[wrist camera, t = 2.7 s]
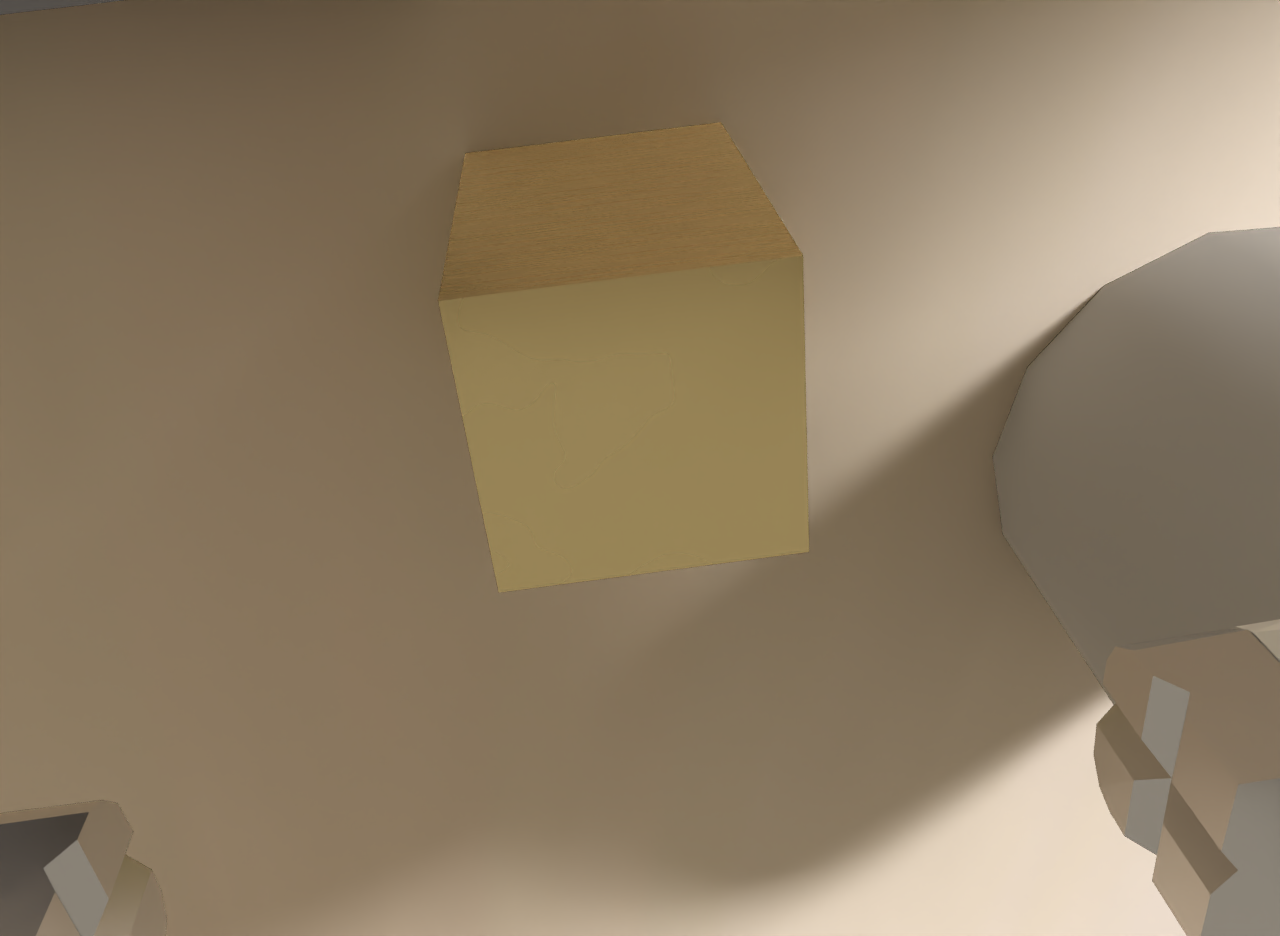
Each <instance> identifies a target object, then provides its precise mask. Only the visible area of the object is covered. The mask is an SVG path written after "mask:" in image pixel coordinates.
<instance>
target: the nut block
mask: <svg viewBox="0 0 1280 936" xmlns="http://www.w3.org/2000/svg"><path fill="white" fill-rule="evenodd" d="M438 303H439V308H440V313H441V318H442V323H443V327H444V332H445V337H446V342H447V347H448V351H449V356H450V361H451V366H452V371H453V376H454V380H455V385H456V390H457V395H458V400H459V404H460V409H461V414H462V419H463V424H464V429H465V433H466V438H467V443H468V448H469V453H470V457H471V462H472V467H473V472H474V477H475V482H476V486H477V491H478V496H479V501H480V506H481V510H482V515H483V520H484V525H485V530H486V535H487V539H488V544H489V549H490V554H491V559H492V563H493V568H494V573H495V578H496V583H497V588H498V592H499V593H500V592H508V591H515V590H523V589H531V588H538V587H546V586H554V585H561V584H569V583H576V582H584V581H592V580H599V579H607V578H614V577H622V576H630V575H637V574H645V573H653V572H660V571H668V570H675V569H683V568H691V567H698V566H706V565H713V564H721V563H729V562H736V561H744V560H752V559H759V558H767V557H774V556H782V555H790V554H797V553H805V552H809V522H808V474H807V427H806V379H805V331H804V284H803V255H802V253H801V251H800V250H799V248H798V247H797V245H796V243H795V242H794V240H793V238H792V237H791V235H790V234H789V232H788V230H787V229H786V227H785V225H784V224H783V222H782V221H781V219H780V217H779V216H778V214H777V212H776V211H775V209H774V208H773V206H772V204H771V203H770V201H769V199H768V198H767V196H766V195H765V193H764V191H763V190H762V188H761V186H760V185H759V183H758V182H757V180H756V178H755V177H754V175H753V173H752V172H751V170H750V169H749V167H748V165H747V164H746V162H745V160H744V159H743V157H742V156H741V154H740V152H739V151H738V149H737V147H736V146H735V144H734V143H733V141H732V139H731V138H730V136H729V134H728V133H727V131H726V130H725V128H724V126H723V125H722V123H721V122H719V123H710V124H702V125H694V126H686V127H677V128H669V129H661V130H653V131H644V132H636V133H628V134H620V135H611V136H603V137H595V138H587V139H578V140H570V141H562V142H554V143H545V144H537V145H529V146H521V147H512V148H504V149H496V150H488V151H480V152H471V153H465V158H464V163H463V169H462V174H461V179H460V185H459V190H458V196H457V201H456V206H455V212H454V217H453V223H452V228H451V233H450V239H449V244H448V250H447V255H446V260H445V266H444V271H443V277H442V282H441V287H440V293H439V298H438Z"/></svg>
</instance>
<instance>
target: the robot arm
mask: <svg viewBox="0 0 1280 936" xmlns="http://www.w3.org/2000/svg"><path fill="white" fill-rule="evenodd" d="M1103 685H1104V686H1105V688H1106V689H1107V691H1108V692H1109V694H1110V695H1111V696H1112V698H1113V699H1114V701H1115V702H1116V703H1115V704H1114V705H1113V707H1112V708H1111V709H1110V710H1109V711H1108V712H1107V713H1106V714H1105V715H1104V716H1103V718H1102V719H1101V720H1100V721H1099V722H1098V723H1097V725H1096V735H1095V745H1094V760H1095V765H1096V771H1097V776H1098V782H1099V787H1100V789H1101V792H1102V794H1103V797H1104V799H1105V802H1106V804H1107V806H1108V809H1109V811H1110V813H1111V815H1112V816H1113V818H1114V820H1115V821H1116V823H1117V825H1118V826H1119V828H1120V830H1121V831H1122V833H1123V835H1124V836H1125V837H1127V838H1129V839H1130V840H1132V841H1134V842H1135V843H1137V844H1139V845H1140V846H1142V847H1144V848H1145V849H1147V850H1149V851H1151V852H1152V853H1154V854H1156V855H1157V856H1156V862H1155V868H1154V873H1153V879H1152V881H1153V883H1154V885H1155V886H1156V888H1157V889H1158V891H1159V892H1160V894H1161V896H1162V897H1163V899H1164V900H1165V902H1166V903H1167V905H1168V907H1169V908H1170V910H1171V911H1172V913H1173V915H1174V916H1175V918H1176V919H1177V921H1178V922H1179V924H1180V926H1181V927H1182V929H1183V930H1184V932H1185V934H1186V935H1187V936H1280V619H1278V620H1272V621H1266V622H1260V623H1254V624H1248V625H1242V626H1236V627H1234V628H1233V629H1221V630H1215V631H1208V632H1202V633H1196V634H1190V635H1183V636H1177V637H1171V638H1165V639H1158V640H1152V641H1146V642H1140V643H1133V644H1127V645H1121V646H1115V648H1114V649H1113V651H1112V653H1111V654H1110V656H1109V657H1108V659H1107V661H1106V667H1105V673H1104V679H1103ZM132 834H133V830H132V828H131V826H130V824H129V822H128V821H127V819H126V817H125V815H124V813H123V812H122V810H121V808H120V806H119V804H118V803H116V802H110V801H105V800H98V801H90V802H83V803H75V804H67V805H59V806H51V807H43V808H35V809H27V810H20V811H12V812H4V813H0V936H166V928H167V915H166V910H165V905H164V900H163V896H162V891H161V888H160V886H159V884H158V882H157V880H156V878H155V875H154V873H153V871H152V869H150V868H148V867H146V866H145V865H143V864H141V863H139V862H138V861H136V860H134V859H132V858H131V857H129V856H127V855H125V853H126V851H127V848H128V845H129V842H130V840H131V837H132Z"/></svg>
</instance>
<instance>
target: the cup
mask: <svg viewBox="0 0 1280 936" xmlns="http://www.w3.org/2000/svg"><path fill="white" fill-rule="evenodd" d="M993 463H994V471H995V479H996V486H997V494H998V502H999V510H1000V518H1001V526H1002V533H1003V536H1004V537H1005V539H1006V540H1007V542H1008V543H1009V545H1010V546H1011V548H1012V549H1013V551H1014V552H1015V554H1016V556H1017V557H1018V559H1019V560H1020V562H1021V563H1022V565H1023V566H1024V568H1025V569H1026V571H1027V572H1028V574H1029V575H1030V577H1031V579H1032V580H1033V582H1034V583H1035V585H1036V586H1037V588H1038V589H1039V591H1040V592H1041V594H1042V595H1043V597H1044V599H1045V600H1046V602H1047V603H1048V605H1049V606H1050V608H1051V609H1052V611H1053V612H1054V614H1055V615H1056V617H1057V618H1058V620H1059V622H1060V623H1061V625H1062V626H1063V628H1064V629H1065V631H1066V632H1067V634H1068V635H1069V637H1070V638H1071V640H1072V642H1073V643H1074V645H1075V646H1076V648H1077V649H1078V651H1079V652H1080V654H1081V655H1082V657H1083V658H1084V660H1085V661H1086V663H1087V665H1088V666H1089V668H1090V669H1091V671H1092V672H1093V674H1094V675H1095V677H1096V678H1097V680H1098V681H1099V683H1100V685H1101V686H1102V688H1103V689H1104V691H1105V692H1106V694H1107V695H1108V697H1109V698H1110V700H1111V701H1112V703H1113V704H1115V703H1116V702H1115V701H1114V699H1113V698H1112V696H1111V695H1110V694H1109V692H1108V691H1107V689H1106V688H1105V686H1104V685H1103V679H1104V673H1105V667H1106V661H1107V659H1108V657H1109V656H1110V654H1111V653H1112V651H1113V649H1114V648H1115V646H1121V645H1127V644H1133V643H1140V642H1146V641H1152V640H1158V639H1165V638H1171V637H1177V636H1183V635H1190V634H1196V633H1202V632H1208V631H1215V630H1221V629H1233V628H1234V627H1236V626H1242V625H1248V624H1254V623H1260V622H1266V621H1272V620H1278V619H1280V227H1275V228H1263V229H1250V230H1237V231H1225V232H1212V233H1208V234H1206V235H1204V236H1202V237H1200V238H1198V239H1196V240H1194V241H1192V242H1190V243H1188V244H1186V245H1184V246H1182V247H1180V248H1178V249H1176V250H1174V251H1172V252H1170V253H1168V254H1166V255H1164V256H1162V257H1160V258H1158V259H1156V260H1154V261H1152V262H1150V263H1148V264H1146V265H1144V266H1142V267H1140V268H1138V269H1136V270H1134V271H1132V272H1130V273H1128V274H1126V275H1124V276H1122V277H1120V278H1118V279H1116V280H1114V281H1112V282H1110V283H1108V284H1106V285H1104V286H1103V287H1102V288H1101V290H1100V291H1099V292H1098V293H1097V294H1096V295H1095V296H1094V297H1093V298H1092V299H1091V300H1090V301H1089V302H1088V303H1087V304H1086V305H1085V306H1084V308H1083V309H1082V310H1081V311H1080V312H1079V313H1078V314H1077V315H1076V316H1075V317H1074V318H1073V319H1072V320H1071V321H1070V322H1069V323H1068V324H1067V326H1066V327H1065V328H1064V329H1063V330H1062V331H1061V332H1060V333H1059V334H1058V335H1057V336H1056V337H1055V338H1054V339H1053V340H1052V341H1051V342H1050V344H1049V345H1048V346H1047V347H1046V348H1045V349H1044V350H1043V351H1042V352H1041V353H1040V354H1039V355H1038V356H1037V357H1036V358H1035V359H1034V361H1033V362H1032V363H1031V364H1030V365H1029V366H1028V367H1027V369H1026V372H1025V374H1024V377H1023V379H1022V382H1021V384H1020V387H1019V390H1018V392H1017V395H1016V397H1015V400H1014V403H1013V405H1012V408H1011V410H1010V413H1009V415H1008V418H1007V421H1006V423H1005V426H1004V428H1003V431H1002V434H1001V436H1000V439H999V441H998V444H997V446H996V449H995V452H994V454H993Z"/></svg>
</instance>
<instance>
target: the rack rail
mask: <svg viewBox="0 0 1280 936" xmlns="http://www.w3.org/2000/svg"><path fill="white" fill-rule="evenodd" d="M113 1H122V0H0V15H2V14H11V13H19V12H28V11H36V10H45V9H53V8H62V7H70V6H79V5H87V4H96V3H105V2H113Z"/></svg>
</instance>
